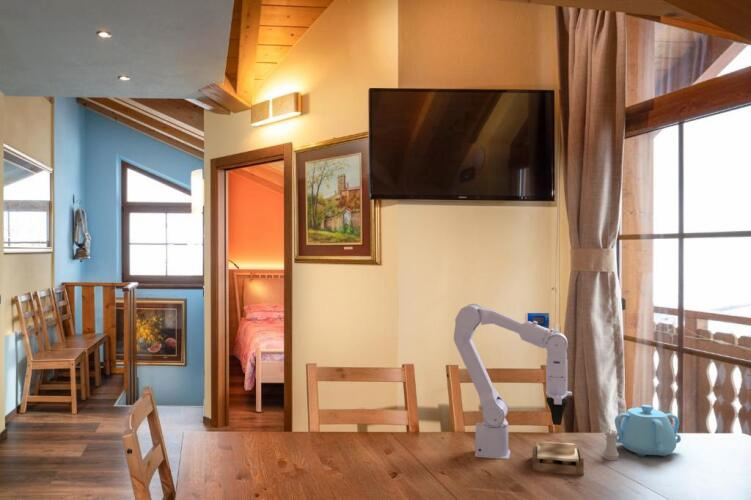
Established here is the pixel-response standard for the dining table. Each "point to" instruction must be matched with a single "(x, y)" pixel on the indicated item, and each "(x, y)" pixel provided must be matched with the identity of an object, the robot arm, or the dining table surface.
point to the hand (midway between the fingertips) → (556, 424)
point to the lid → (557, 451)
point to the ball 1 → (547, 461)
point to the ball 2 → (566, 462)
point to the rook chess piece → (611, 446)
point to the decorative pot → (647, 431)
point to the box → (558, 464)
